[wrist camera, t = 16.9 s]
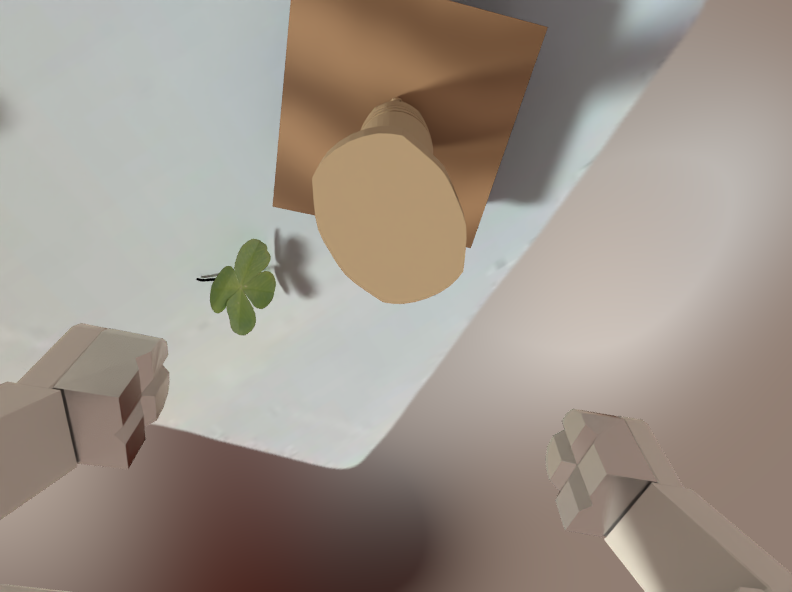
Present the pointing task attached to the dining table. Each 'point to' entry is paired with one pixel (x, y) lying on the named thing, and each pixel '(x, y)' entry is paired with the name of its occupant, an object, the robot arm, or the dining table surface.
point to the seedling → (244, 286)
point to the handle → (391, 208)
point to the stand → (403, 86)
